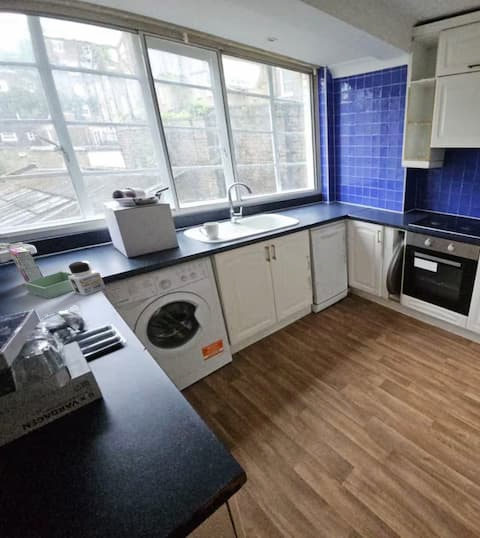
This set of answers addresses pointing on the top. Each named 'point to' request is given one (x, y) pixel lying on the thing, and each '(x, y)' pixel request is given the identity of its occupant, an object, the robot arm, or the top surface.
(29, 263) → the candy bar box
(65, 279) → the tray
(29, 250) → the robot arm
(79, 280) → the container
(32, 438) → the top surface
